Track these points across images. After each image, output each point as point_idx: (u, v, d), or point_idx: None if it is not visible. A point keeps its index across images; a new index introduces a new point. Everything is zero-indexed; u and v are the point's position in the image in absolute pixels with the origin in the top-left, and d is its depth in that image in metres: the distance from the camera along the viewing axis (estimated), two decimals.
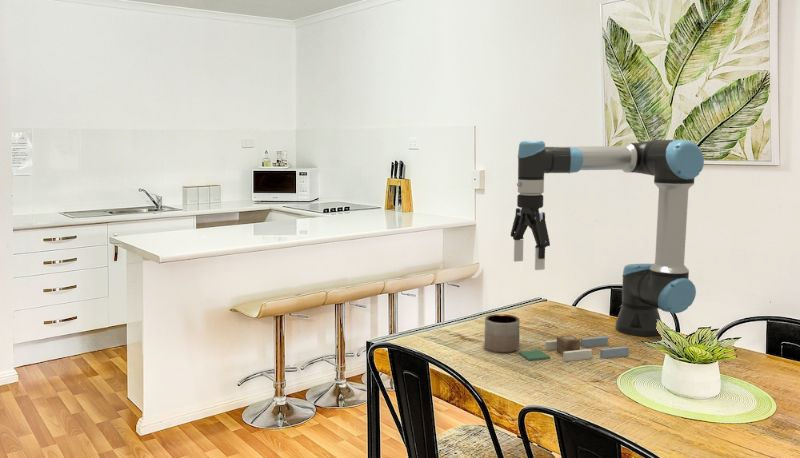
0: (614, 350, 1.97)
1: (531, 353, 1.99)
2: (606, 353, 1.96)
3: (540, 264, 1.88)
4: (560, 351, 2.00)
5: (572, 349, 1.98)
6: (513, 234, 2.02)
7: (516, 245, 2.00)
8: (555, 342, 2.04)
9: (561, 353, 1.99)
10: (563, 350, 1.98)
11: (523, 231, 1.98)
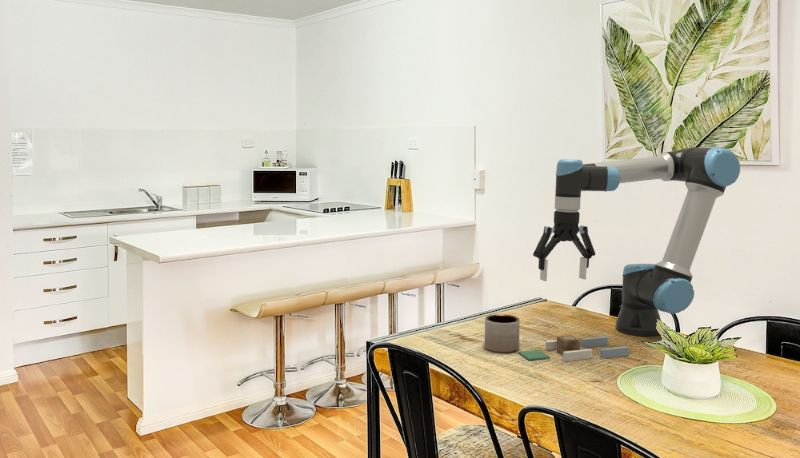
0: (614, 350, 1.97)
1: (531, 353, 1.99)
2: (606, 353, 1.96)
3: (542, 275, 1.99)
4: (560, 351, 2.00)
5: (572, 349, 1.98)
6: (587, 252, 2.03)
7: (580, 262, 2.03)
8: (555, 342, 2.04)
9: (561, 353, 1.99)
10: (563, 350, 1.98)
11: (580, 249, 2.01)
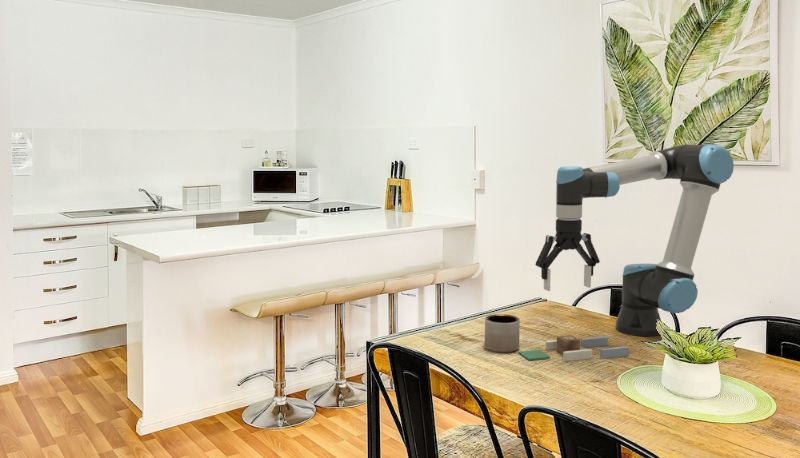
0: (614, 350, 1.97)
1: (531, 353, 1.99)
2: (606, 353, 1.96)
3: (545, 284, 1.96)
4: (560, 351, 2.00)
5: (572, 349, 1.98)
6: (592, 259, 2.00)
7: (584, 270, 2.00)
8: (555, 342, 2.04)
9: (561, 353, 2.00)
10: (563, 350, 1.98)
11: (583, 256, 1.98)
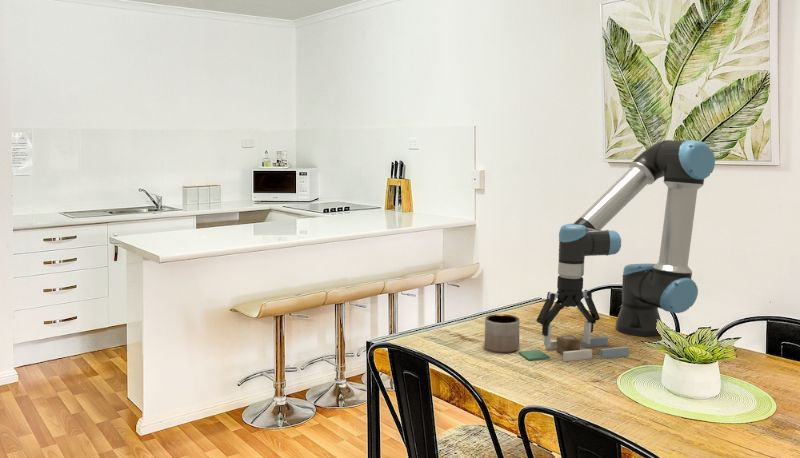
0: (614, 350, 1.97)
1: (531, 353, 1.99)
2: (606, 353, 1.96)
3: (546, 340, 1.98)
4: (560, 351, 2.00)
5: (572, 349, 1.98)
6: (592, 316, 2.02)
7: (584, 326, 2.02)
8: (555, 342, 2.04)
9: (561, 353, 2.00)
10: (563, 350, 1.98)
11: (584, 313, 2.00)
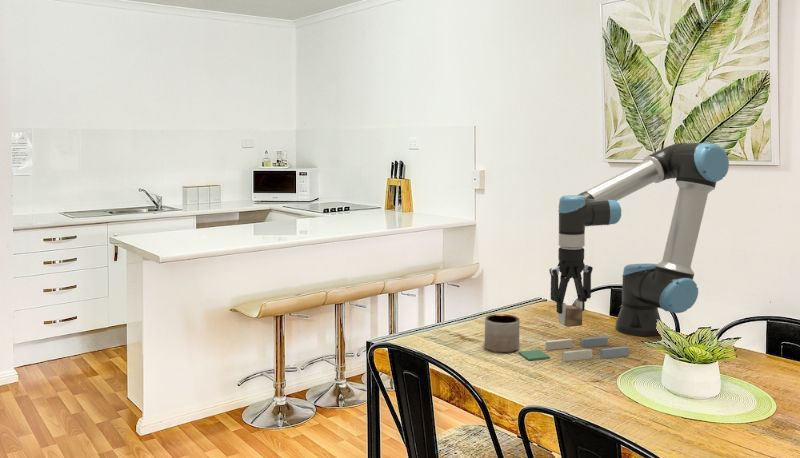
0: (614, 350, 1.97)
1: (531, 353, 1.99)
2: (606, 353, 1.96)
3: (561, 318, 1.98)
4: None
5: (574, 318, 1.97)
6: (583, 293, 2.00)
7: (576, 305, 2.00)
8: (555, 342, 2.04)
9: None
10: (565, 320, 1.97)
11: (578, 289, 1.98)
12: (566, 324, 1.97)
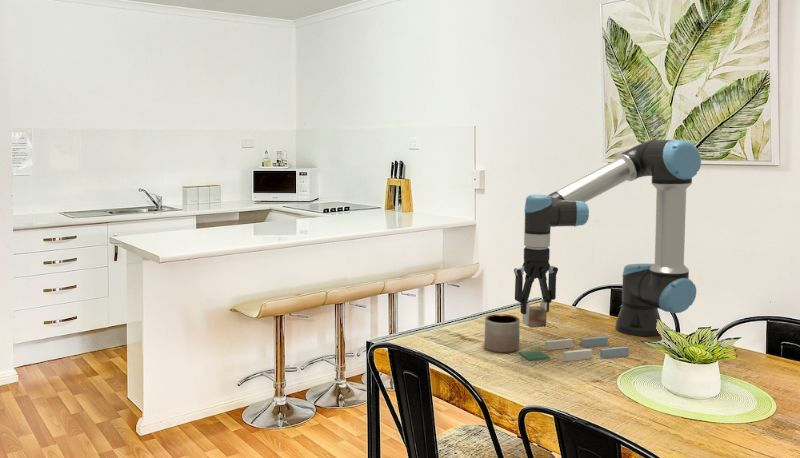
0: (614, 350, 1.97)
1: (531, 353, 1.99)
2: (606, 353, 1.96)
3: (524, 319, 1.96)
4: None
5: (538, 319, 1.94)
6: (548, 294, 1.98)
7: (540, 306, 1.98)
8: (555, 342, 2.04)
9: None
10: (529, 320, 1.95)
11: (543, 289, 1.96)
12: (530, 325, 1.94)
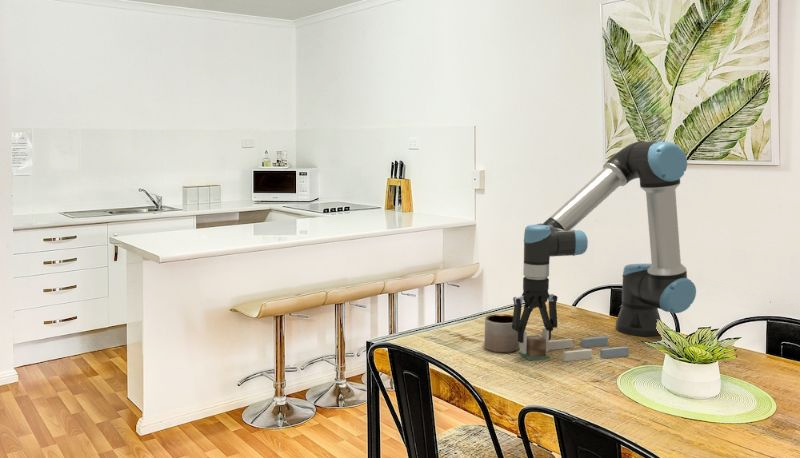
0: (614, 350, 1.97)
1: None
2: (606, 353, 1.96)
3: (522, 347, 1.97)
4: (526, 351, 1.98)
5: (538, 349, 1.96)
6: (550, 322, 2.00)
7: (542, 333, 1.99)
8: (555, 342, 2.04)
9: (527, 353, 1.97)
10: (529, 350, 1.96)
11: (544, 318, 1.97)
12: (529, 355, 1.96)
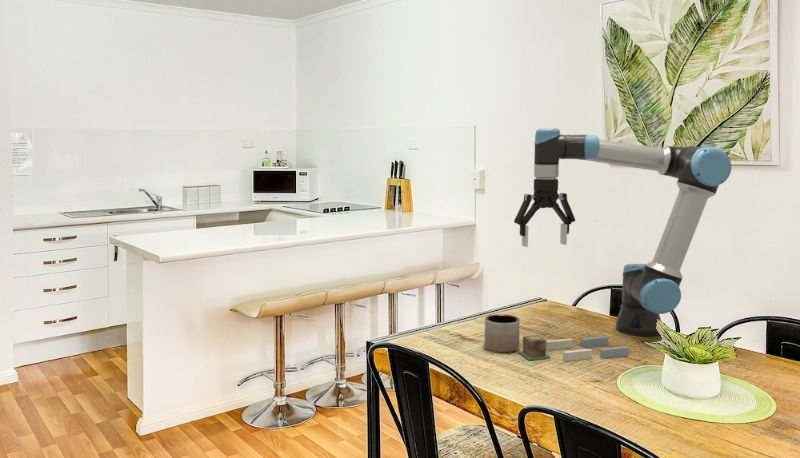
0: (614, 350, 1.97)
1: None
2: (606, 353, 1.96)
3: (523, 241, 2.06)
4: (526, 351, 1.98)
5: (538, 349, 1.96)
6: (568, 218, 2.10)
7: (561, 228, 2.10)
8: (555, 342, 2.04)
9: (527, 353, 1.97)
10: (529, 350, 1.96)
11: (560, 215, 2.08)
12: (529, 355, 1.96)
